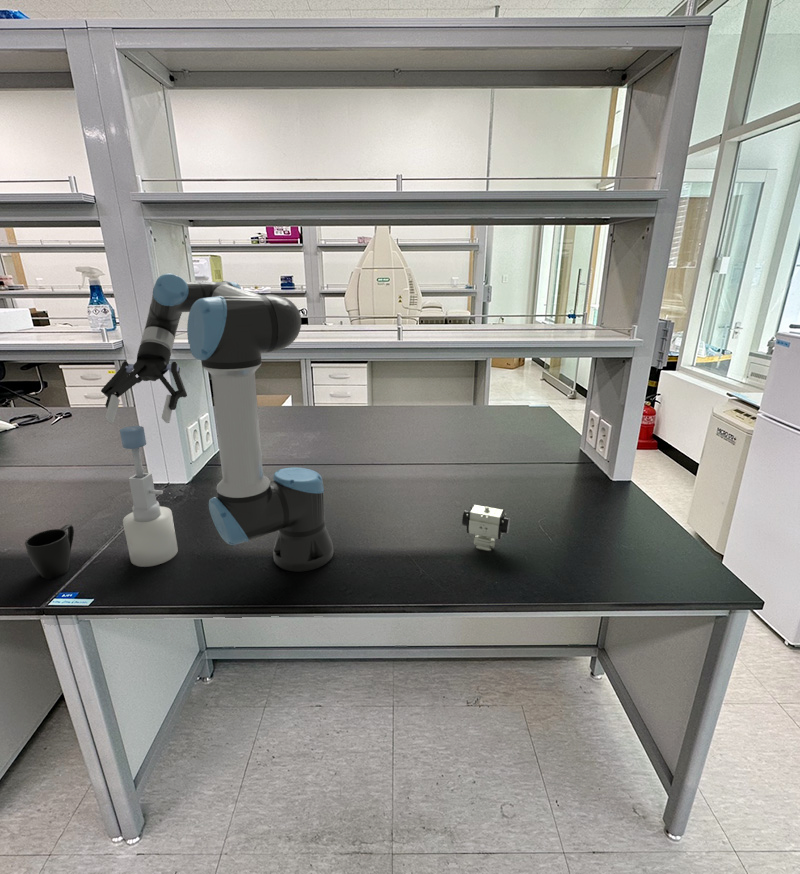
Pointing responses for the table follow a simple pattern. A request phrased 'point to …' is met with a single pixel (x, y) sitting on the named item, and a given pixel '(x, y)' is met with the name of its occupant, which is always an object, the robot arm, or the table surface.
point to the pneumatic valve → (485, 525)
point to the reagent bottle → (149, 525)
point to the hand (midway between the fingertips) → (137, 420)
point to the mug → (51, 551)
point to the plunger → (134, 445)
